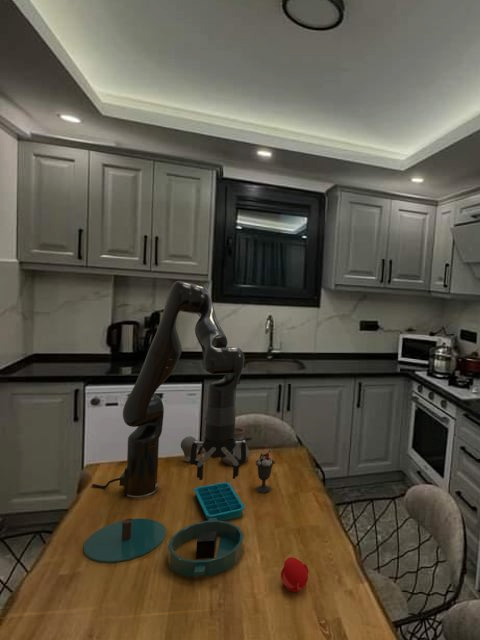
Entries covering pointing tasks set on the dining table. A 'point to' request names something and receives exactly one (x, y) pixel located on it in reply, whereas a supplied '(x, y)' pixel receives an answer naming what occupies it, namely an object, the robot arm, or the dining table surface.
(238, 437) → the coffee pot
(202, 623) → the dining table surface
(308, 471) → the dining table surface
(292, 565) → the red rounded oval piece
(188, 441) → the light bulb
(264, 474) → the sundae
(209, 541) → the block
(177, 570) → the teal tabbed round part
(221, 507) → the ice cube tray
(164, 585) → the dining table surface
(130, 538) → the lid
